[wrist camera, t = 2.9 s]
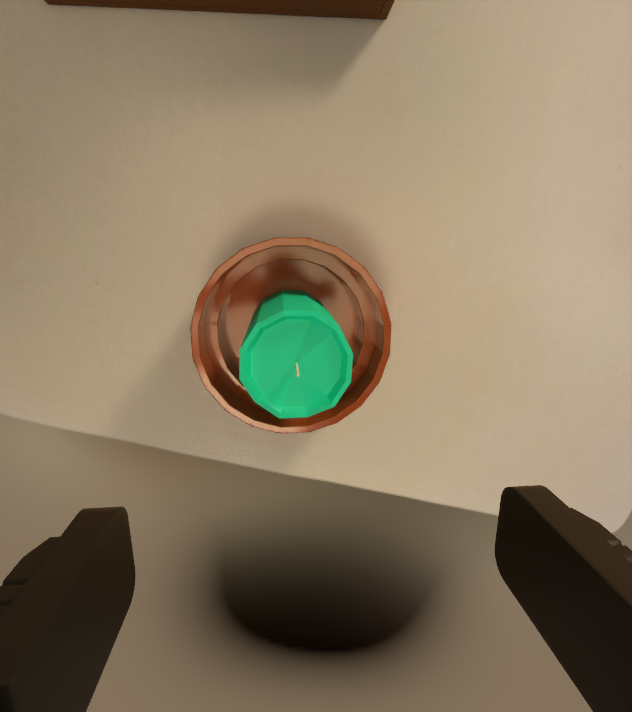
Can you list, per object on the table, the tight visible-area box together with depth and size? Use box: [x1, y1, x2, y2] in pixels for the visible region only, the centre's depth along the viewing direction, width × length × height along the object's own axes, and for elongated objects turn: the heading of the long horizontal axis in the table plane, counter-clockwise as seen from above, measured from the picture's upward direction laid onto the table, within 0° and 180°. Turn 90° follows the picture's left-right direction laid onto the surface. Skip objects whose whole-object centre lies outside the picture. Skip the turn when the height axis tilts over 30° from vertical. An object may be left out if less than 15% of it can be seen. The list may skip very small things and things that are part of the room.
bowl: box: [190, 238, 391, 433], centre depth 29 cm, size 13×13×5 cm
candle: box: [239, 289, 353, 418], centre depth 25 cm, size 6×6×12 cm
